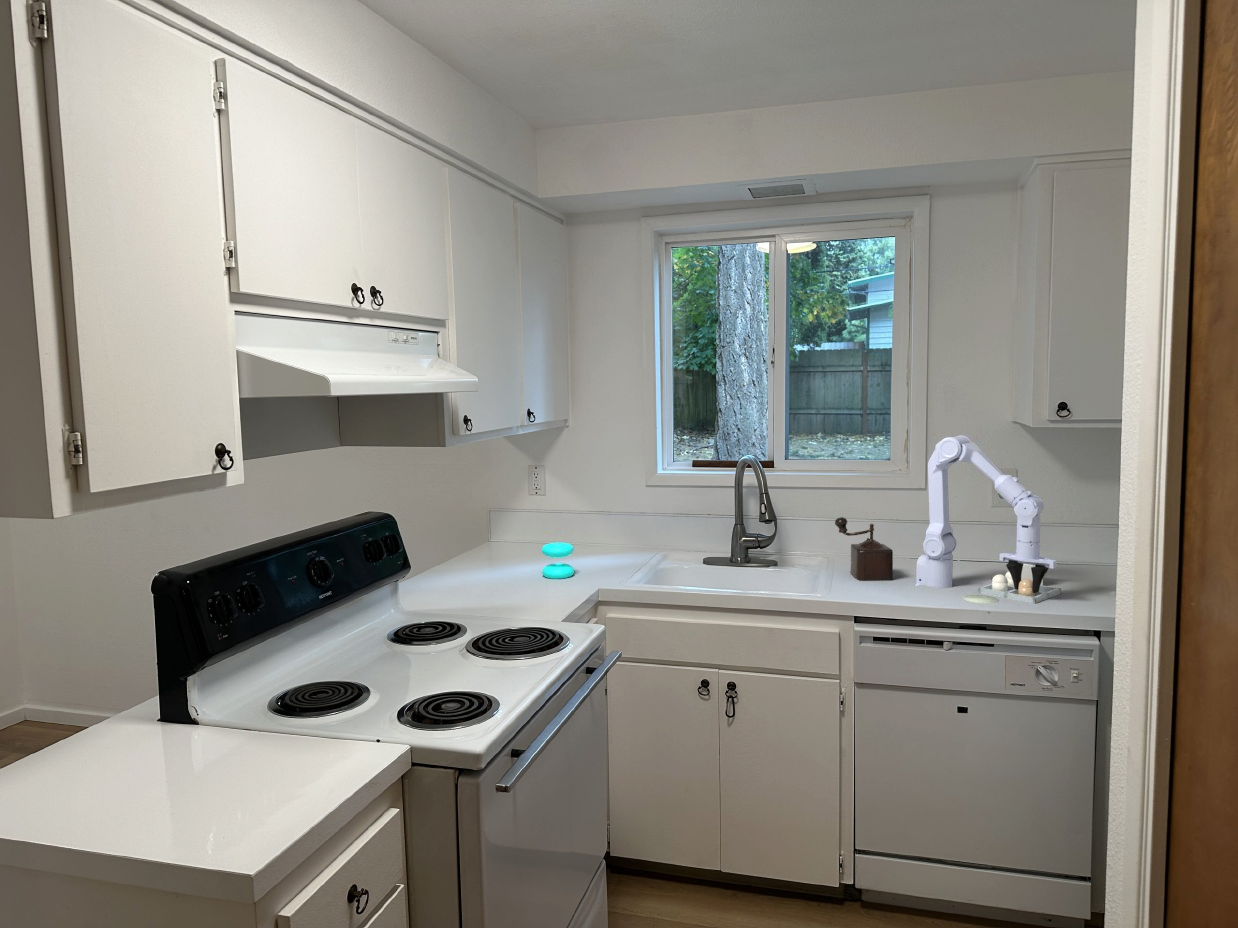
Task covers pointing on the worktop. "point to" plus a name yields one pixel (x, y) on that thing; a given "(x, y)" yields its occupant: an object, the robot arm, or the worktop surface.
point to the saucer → (980, 599)
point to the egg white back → (1009, 579)
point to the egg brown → (1026, 588)
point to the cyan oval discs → (557, 568)
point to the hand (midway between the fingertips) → (1026, 590)
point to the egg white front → (1000, 583)
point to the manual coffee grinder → (868, 556)
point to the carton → (1013, 594)
